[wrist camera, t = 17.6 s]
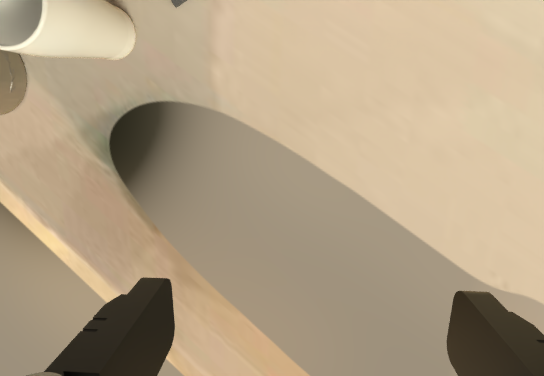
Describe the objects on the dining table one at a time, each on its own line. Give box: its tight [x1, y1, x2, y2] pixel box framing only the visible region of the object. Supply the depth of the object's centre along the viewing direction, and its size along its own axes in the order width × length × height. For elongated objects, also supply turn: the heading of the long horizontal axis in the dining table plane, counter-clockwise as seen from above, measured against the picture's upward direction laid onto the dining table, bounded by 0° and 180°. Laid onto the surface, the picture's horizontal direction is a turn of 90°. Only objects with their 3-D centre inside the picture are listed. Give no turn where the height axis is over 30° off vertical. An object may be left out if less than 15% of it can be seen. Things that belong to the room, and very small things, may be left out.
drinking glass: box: [0, 0, 136, 60], centre depth 30 cm, size 7×7×15 cm
